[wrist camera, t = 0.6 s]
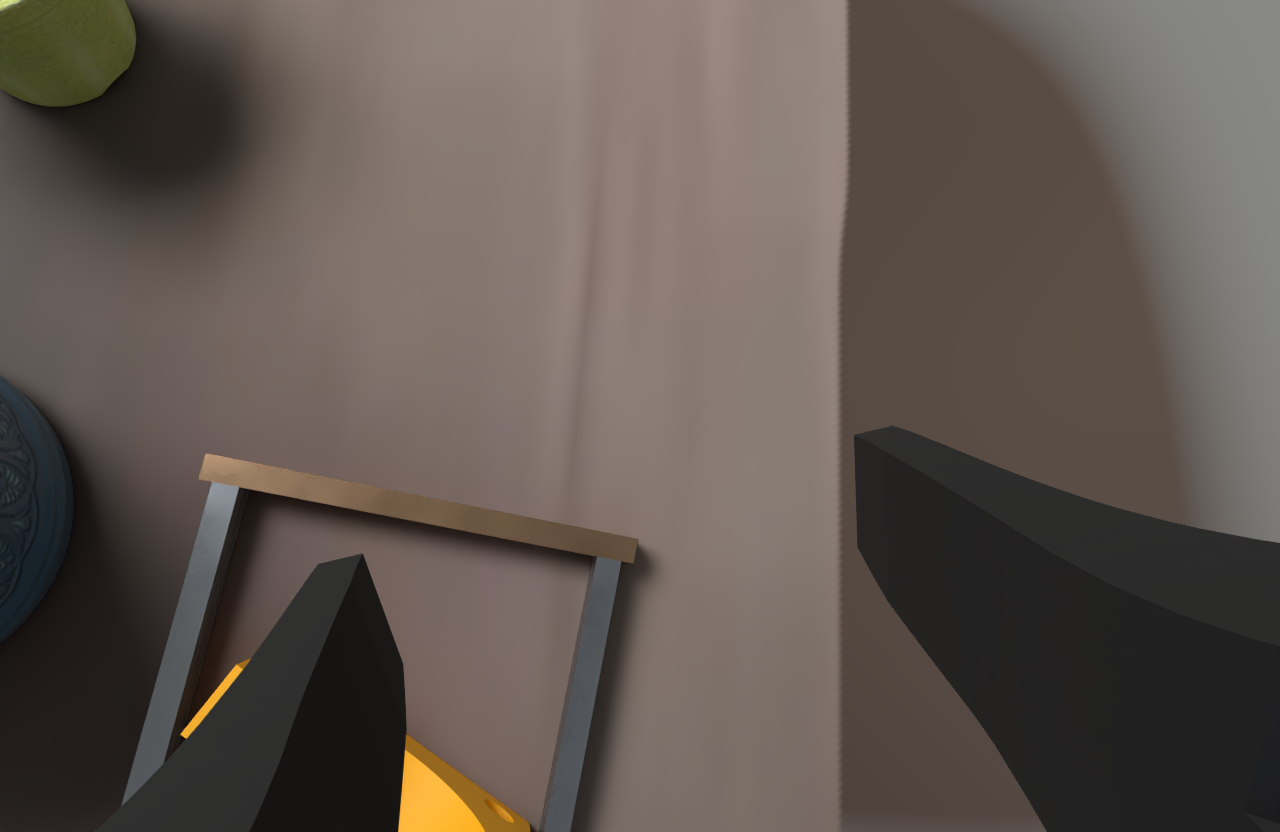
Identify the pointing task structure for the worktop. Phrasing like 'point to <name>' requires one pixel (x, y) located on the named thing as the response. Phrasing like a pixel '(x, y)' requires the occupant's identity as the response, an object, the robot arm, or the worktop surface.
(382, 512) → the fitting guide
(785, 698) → the worktop surface
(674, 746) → the worktop surface
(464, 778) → the pipe clamp
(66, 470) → the canister
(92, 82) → the plant pot
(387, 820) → the robot arm
